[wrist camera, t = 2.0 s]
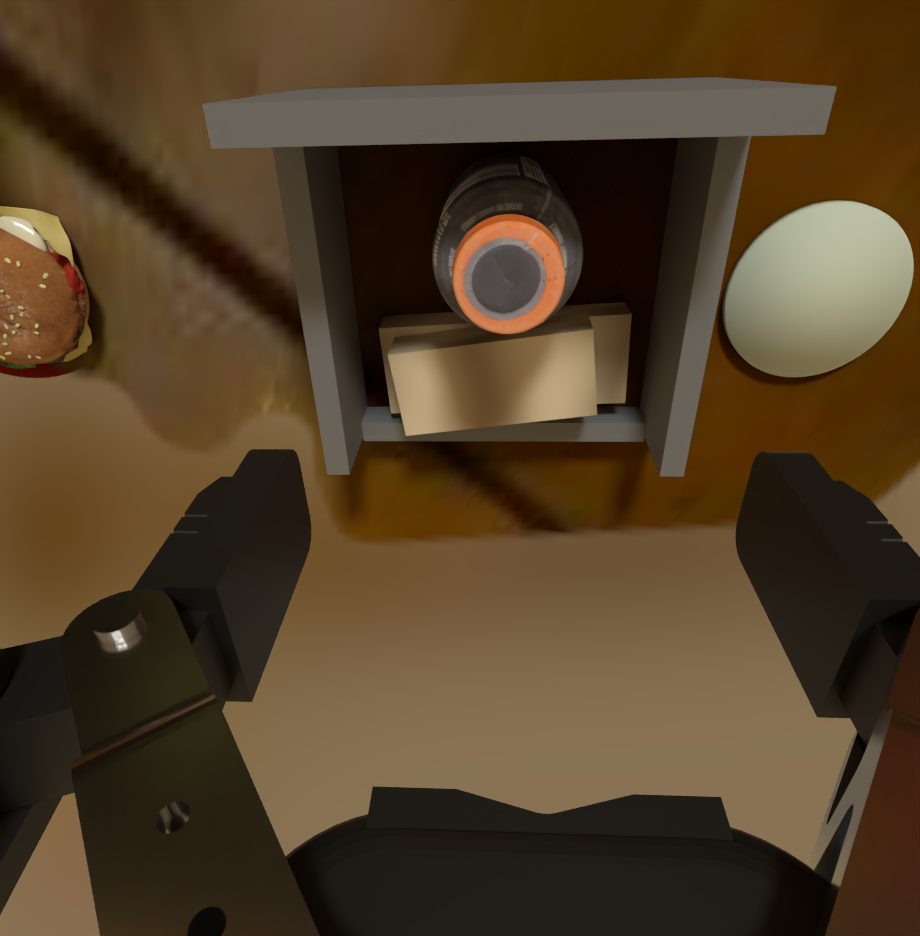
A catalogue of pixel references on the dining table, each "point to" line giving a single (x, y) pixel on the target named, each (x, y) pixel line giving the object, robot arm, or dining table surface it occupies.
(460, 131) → the frame
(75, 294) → the hamburger
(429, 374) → the offcut upper
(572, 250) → the pill bottle
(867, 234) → the coaster
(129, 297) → the dining table surface
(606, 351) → the offcut lower
